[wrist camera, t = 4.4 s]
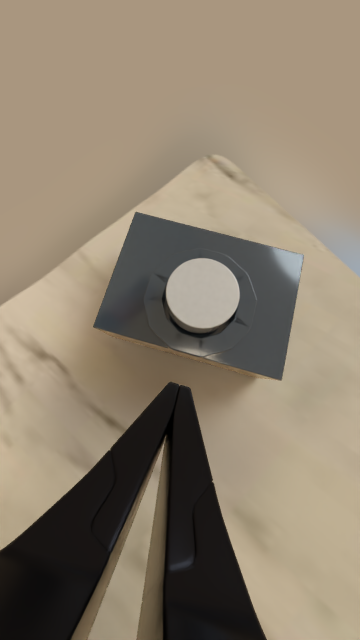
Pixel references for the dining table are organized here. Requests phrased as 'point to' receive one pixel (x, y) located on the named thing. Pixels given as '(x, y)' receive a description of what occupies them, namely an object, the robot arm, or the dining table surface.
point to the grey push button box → (238, 331)
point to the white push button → (202, 295)
